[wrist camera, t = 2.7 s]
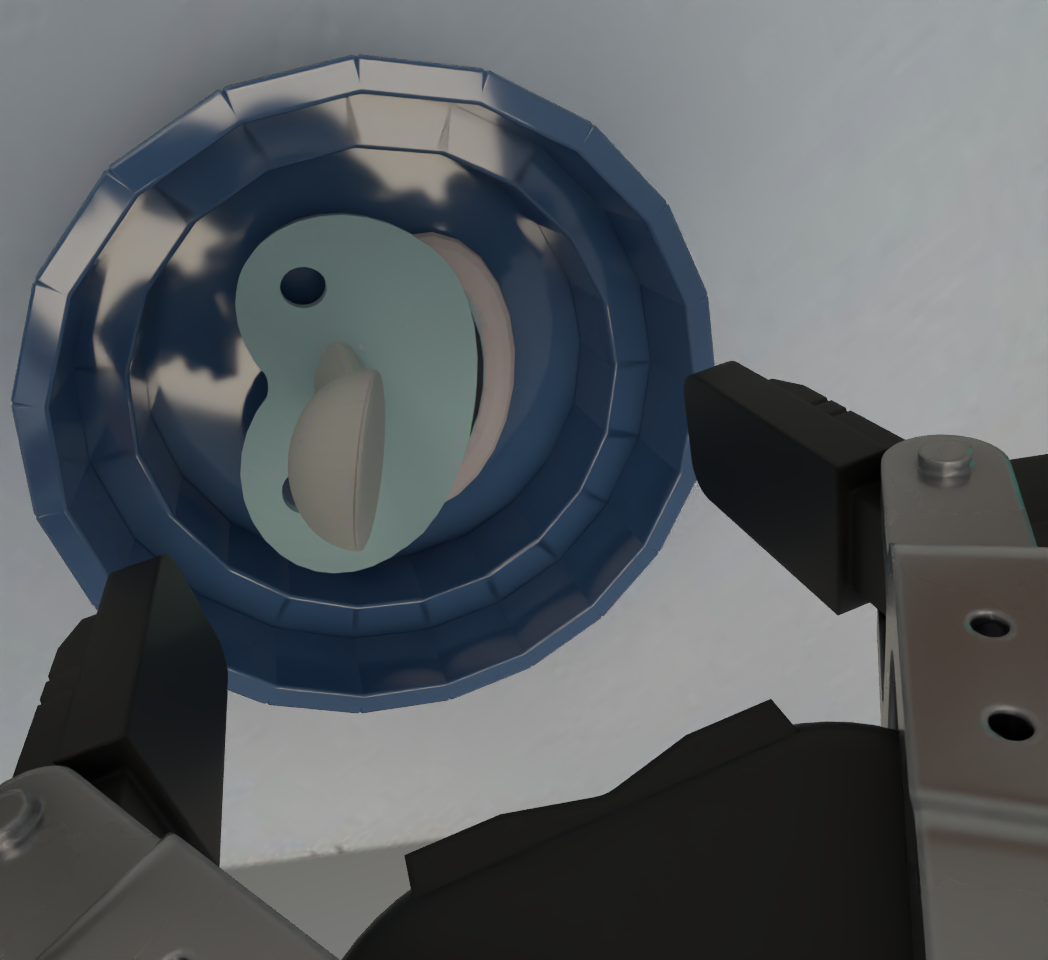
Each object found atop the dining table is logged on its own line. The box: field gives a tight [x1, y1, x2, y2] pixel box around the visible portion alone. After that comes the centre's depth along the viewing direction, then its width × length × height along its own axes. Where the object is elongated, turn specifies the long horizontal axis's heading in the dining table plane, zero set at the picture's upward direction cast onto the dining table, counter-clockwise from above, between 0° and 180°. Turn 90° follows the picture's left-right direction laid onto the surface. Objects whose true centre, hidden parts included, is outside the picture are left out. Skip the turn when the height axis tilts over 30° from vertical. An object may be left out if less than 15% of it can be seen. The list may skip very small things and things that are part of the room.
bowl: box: [11, 54, 714, 713], centre depth 16 cm, size 12×12×4 cm
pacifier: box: [235, 213, 515, 573], centre depth 15 cm, size 7×6×6 cm
